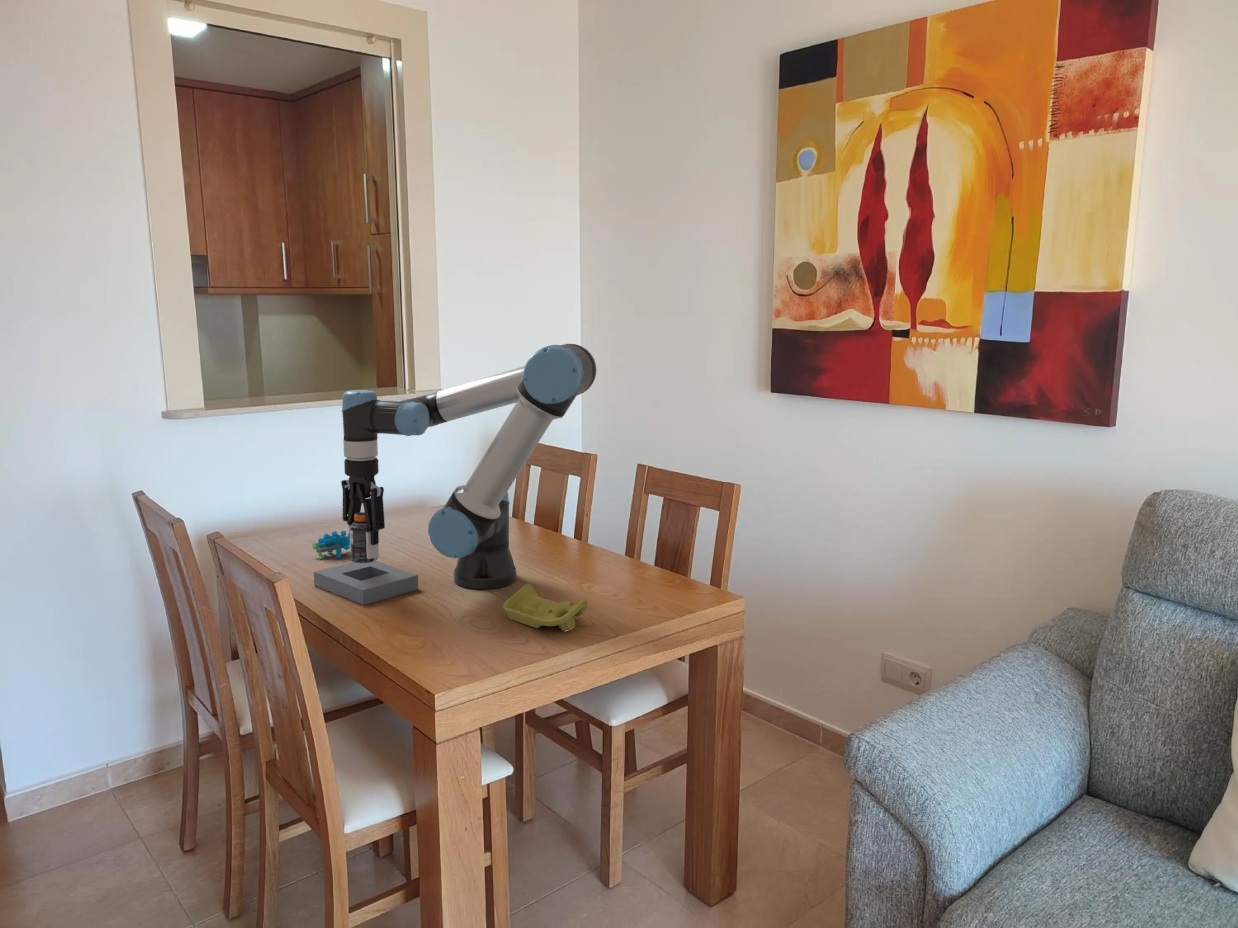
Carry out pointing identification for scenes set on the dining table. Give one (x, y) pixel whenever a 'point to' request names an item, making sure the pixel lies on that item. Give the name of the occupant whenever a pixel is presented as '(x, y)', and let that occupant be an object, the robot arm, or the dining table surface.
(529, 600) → the plastic component
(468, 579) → the robot arm
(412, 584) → the socket block
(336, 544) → the gear
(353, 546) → the pill bottle
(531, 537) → the dining table surface
